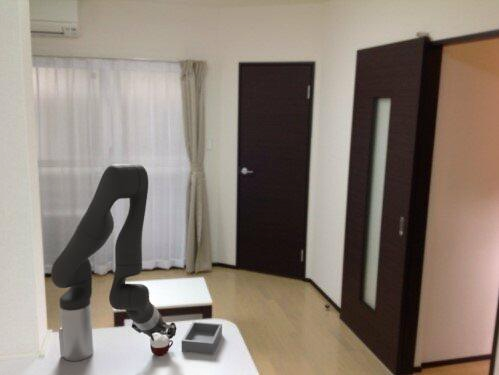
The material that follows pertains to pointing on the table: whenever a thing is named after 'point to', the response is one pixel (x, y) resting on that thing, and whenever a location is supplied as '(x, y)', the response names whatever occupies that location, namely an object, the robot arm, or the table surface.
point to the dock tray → (202, 338)
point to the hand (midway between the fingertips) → (161, 334)
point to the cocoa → (159, 344)
